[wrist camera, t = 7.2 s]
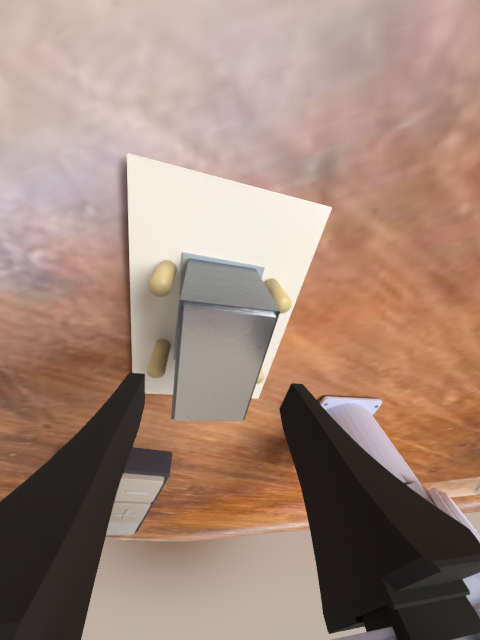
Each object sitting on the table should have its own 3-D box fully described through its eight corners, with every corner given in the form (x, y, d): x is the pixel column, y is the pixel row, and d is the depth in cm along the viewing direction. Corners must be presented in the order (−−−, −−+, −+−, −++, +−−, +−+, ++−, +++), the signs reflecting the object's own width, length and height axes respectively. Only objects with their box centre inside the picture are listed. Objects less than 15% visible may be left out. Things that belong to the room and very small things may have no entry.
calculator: (169, 482, 25) (135, 541, 31) (174, 444, 29) (142, 503, 34) (56, 473, 21) (40, 541, 27) (77, 431, 25) (59, 499, 31)
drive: (234, 357, 19) (244, 423, 14) (180, 353, 18) (170, 422, 13) (255, 268, 15) (281, 314, 10) (189, 258, 14) (179, 302, 9)
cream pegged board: (256, 390, 24) (264, 425, 20) (135, 384, 21) (122, 423, 18) (324, 206, 15) (359, 213, 12) (132, 154, 12) (104, 144, 9)
